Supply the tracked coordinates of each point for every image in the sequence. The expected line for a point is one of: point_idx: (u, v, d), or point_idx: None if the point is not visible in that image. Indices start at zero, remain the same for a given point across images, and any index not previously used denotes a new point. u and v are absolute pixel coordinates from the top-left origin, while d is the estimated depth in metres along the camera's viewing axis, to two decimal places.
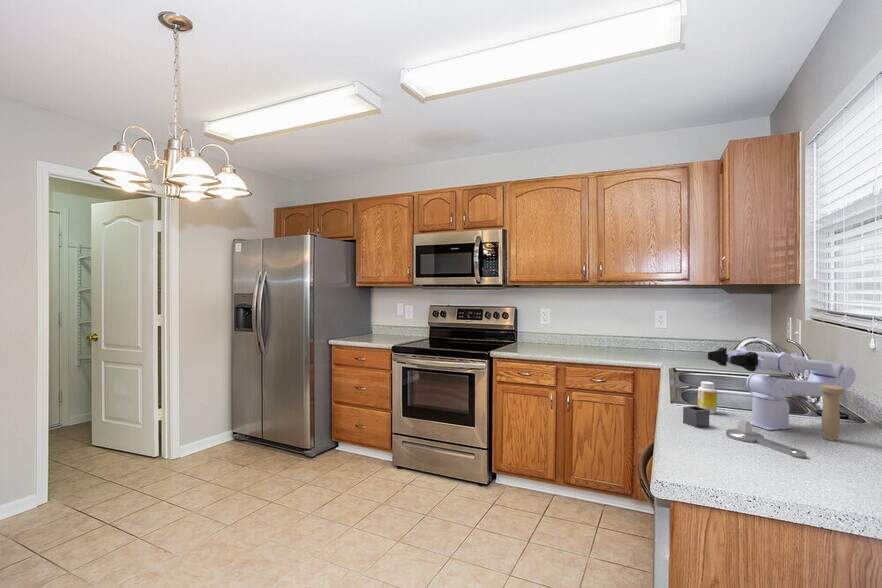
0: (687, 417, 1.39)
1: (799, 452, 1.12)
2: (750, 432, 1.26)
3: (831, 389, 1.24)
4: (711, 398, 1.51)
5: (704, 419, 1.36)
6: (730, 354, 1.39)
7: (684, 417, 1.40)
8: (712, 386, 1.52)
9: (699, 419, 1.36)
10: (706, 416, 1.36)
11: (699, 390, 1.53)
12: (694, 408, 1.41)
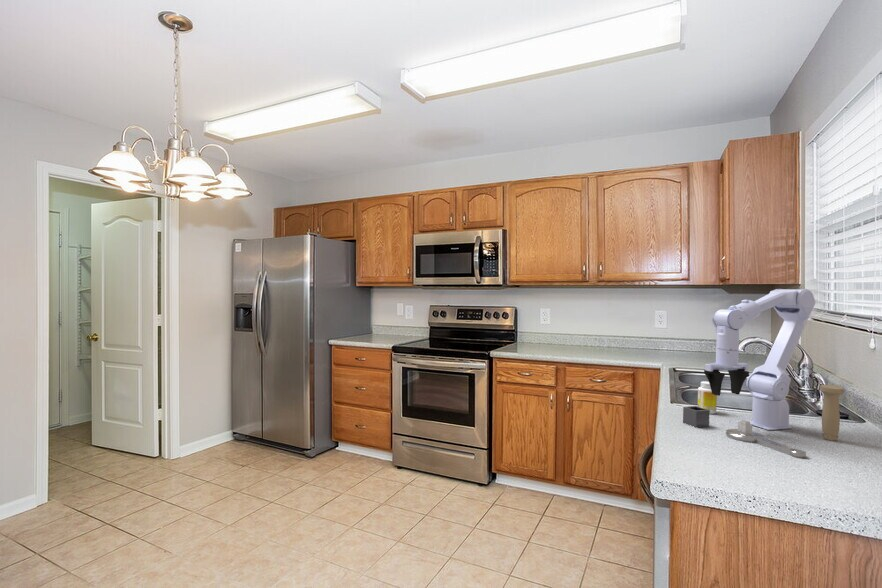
0: (687, 417, 1.39)
1: (799, 452, 1.12)
2: (750, 432, 1.26)
3: (831, 389, 1.24)
4: (711, 398, 1.51)
5: (704, 419, 1.36)
6: None
7: (684, 417, 1.40)
8: None
9: (699, 419, 1.36)
10: (706, 416, 1.36)
11: (699, 390, 1.53)
12: (694, 408, 1.41)
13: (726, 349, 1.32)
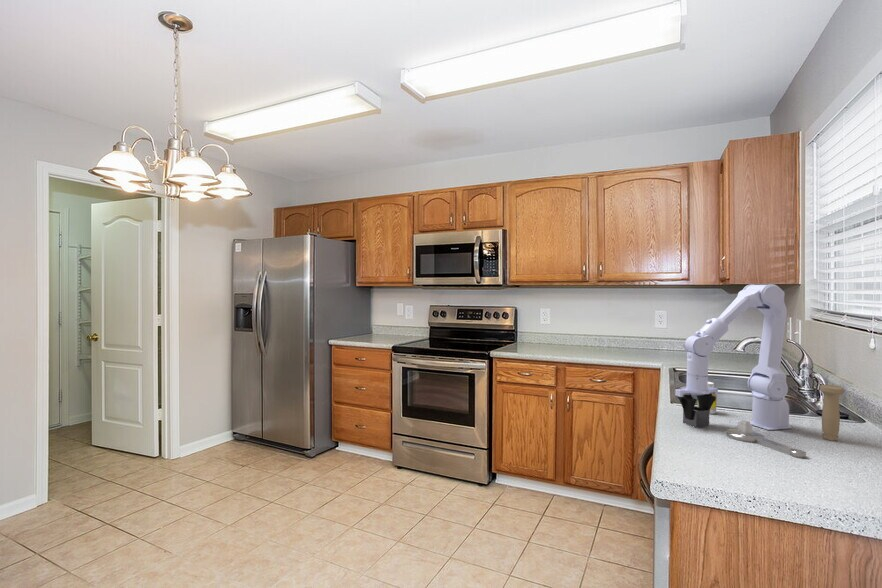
0: None
1: (799, 452, 1.12)
2: (750, 432, 1.26)
3: (831, 389, 1.24)
4: None
5: (704, 419, 1.36)
6: None
7: (684, 417, 1.40)
8: (712, 386, 1.52)
9: (699, 419, 1.36)
10: (706, 416, 1.37)
11: None
12: (694, 408, 1.41)
13: (693, 375, 1.37)
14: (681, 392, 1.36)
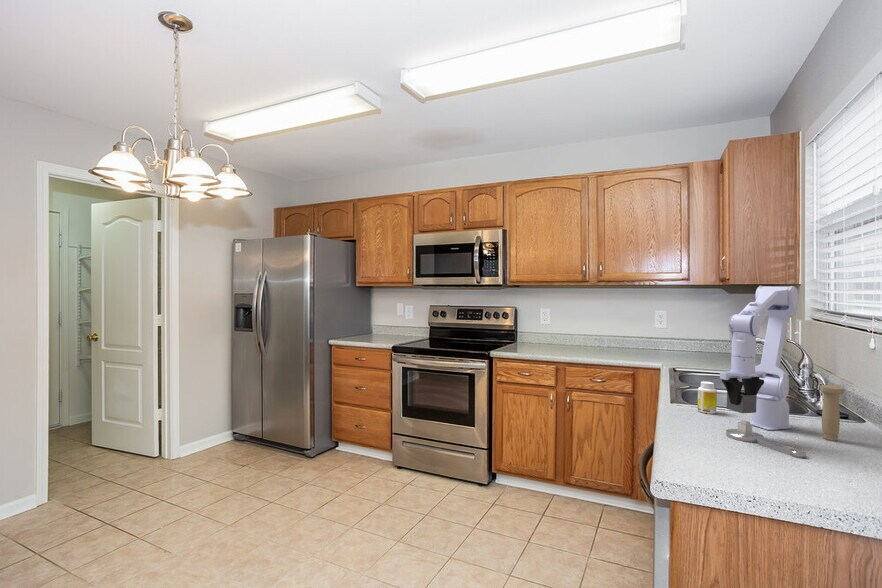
0: None
1: (799, 452, 1.12)
2: (750, 432, 1.26)
3: (831, 389, 1.24)
4: (711, 398, 1.51)
5: (751, 404, 1.26)
6: (735, 375, 1.26)
7: (728, 402, 1.29)
8: (712, 386, 1.52)
9: (745, 404, 1.25)
10: (753, 401, 1.26)
11: (699, 390, 1.53)
12: None
13: (747, 357, 1.25)
14: (727, 375, 1.25)
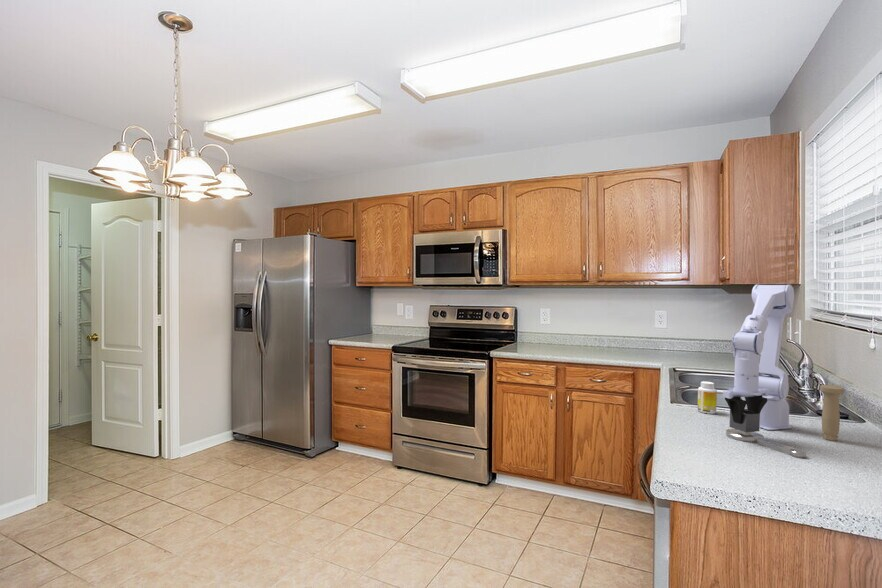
0: None
1: (799, 452, 1.12)
2: (750, 432, 1.26)
3: (831, 389, 1.24)
4: (711, 398, 1.51)
5: (754, 423, 1.25)
6: None
7: (731, 420, 1.28)
8: (712, 386, 1.52)
9: (749, 423, 1.25)
10: (756, 420, 1.25)
11: (699, 390, 1.53)
12: None
13: (751, 375, 1.24)
14: (730, 393, 1.24)
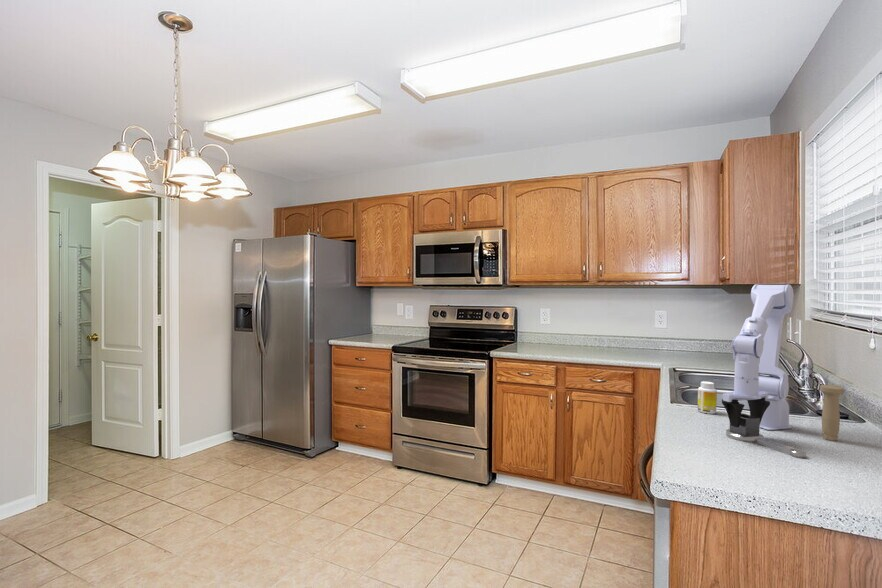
0: None
1: (799, 452, 1.12)
2: None
3: (831, 389, 1.24)
4: (711, 398, 1.51)
5: (754, 428, 1.25)
6: None
7: None
8: (712, 386, 1.52)
9: (749, 428, 1.25)
10: (756, 424, 1.25)
11: (699, 390, 1.53)
12: (741, 415, 1.29)
13: (751, 379, 1.24)
14: (730, 397, 1.24)
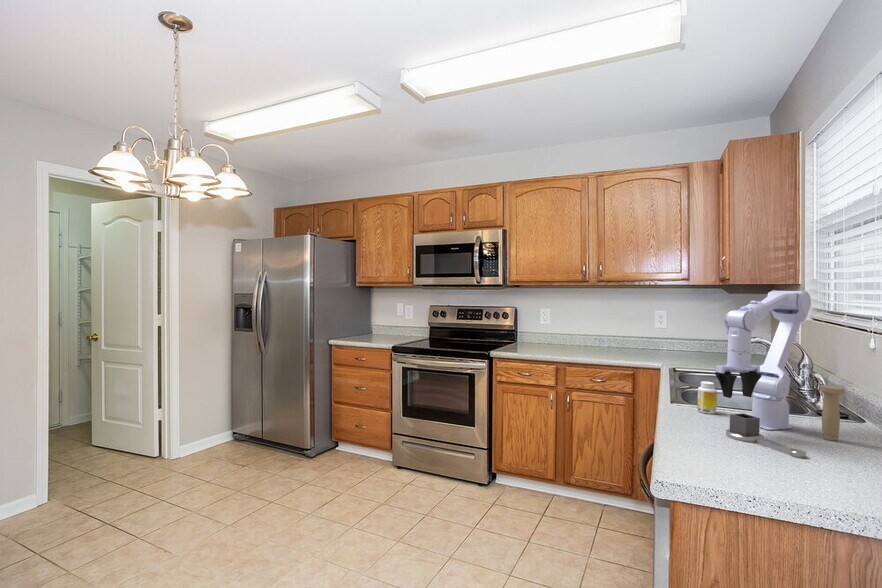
0: (735, 425, 1.27)
1: (799, 452, 1.12)
2: None
3: (831, 389, 1.24)
4: (711, 398, 1.51)
5: (754, 428, 1.25)
6: None
7: (731, 425, 1.28)
8: (712, 386, 1.52)
9: (749, 428, 1.25)
10: (756, 424, 1.25)
11: (699, 390, 1.53)
12: (741, 415, 1.29)
13: (740, 351, 1.30)
14: (723, 368, 1.29)
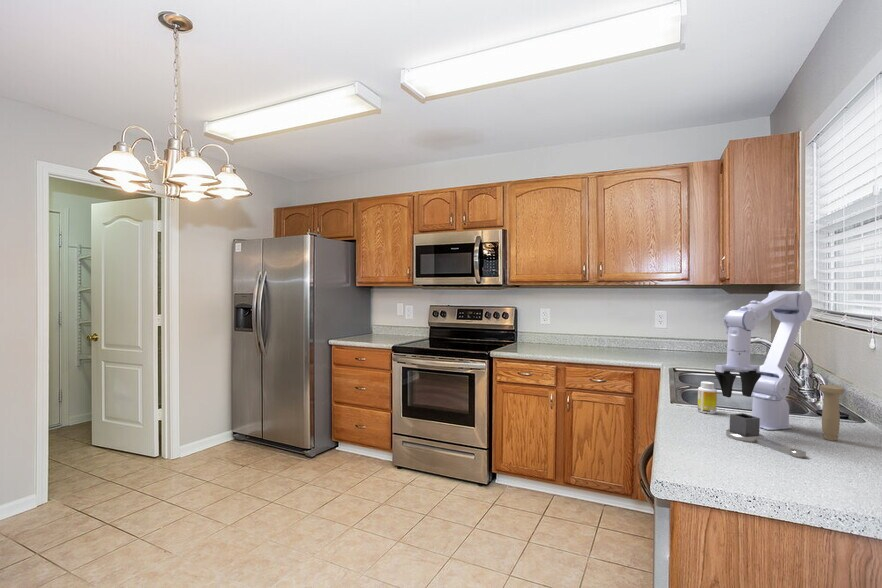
0: (735, 425, 1.27)
1: (799, 452, 1.12)
2: None
3: (831, 389, 1.24)
4: (711, 398, 1.51)
5: (754, 428, 1.25)
6: (731, 368, 1.31)
7: (731, 425, 1.28)
8: (712, 386, 1.52)
9: (749, 428, 1.25)
10: (756, 424, 1.25)
11: (699, 390, 1.53)
12: (741, 415, 1.29)
13: (740, 350, 1.30)
14: (722, 368, 1.30)
